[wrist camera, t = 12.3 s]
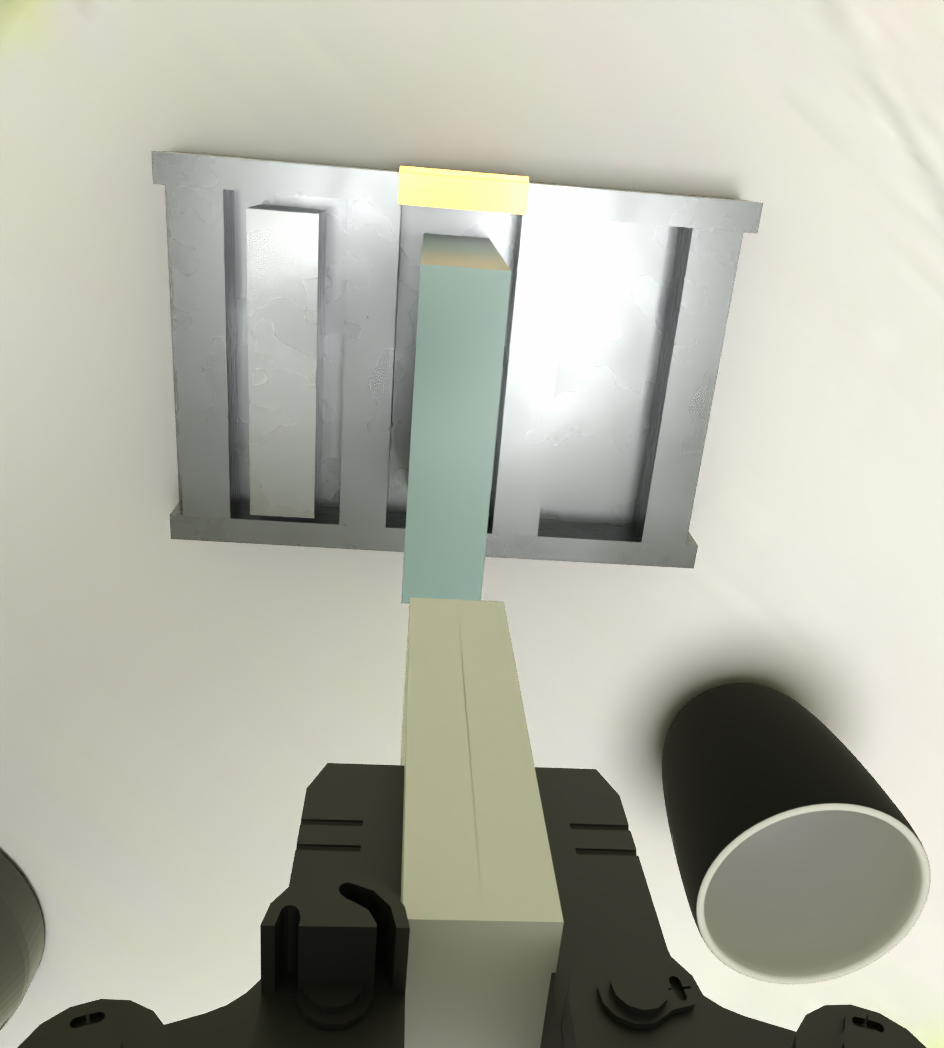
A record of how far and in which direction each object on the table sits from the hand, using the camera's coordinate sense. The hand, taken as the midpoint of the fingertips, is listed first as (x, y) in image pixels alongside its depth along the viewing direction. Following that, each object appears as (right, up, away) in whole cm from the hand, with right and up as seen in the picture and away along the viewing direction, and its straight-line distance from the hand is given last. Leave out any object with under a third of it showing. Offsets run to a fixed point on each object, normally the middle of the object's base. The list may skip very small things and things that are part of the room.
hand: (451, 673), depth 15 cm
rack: (-1, +9, +21) cm, 23 cm away
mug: (+14, -9, +29) cm, 33 cm away
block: (-1, +8, +20) cm, 22 cm away
